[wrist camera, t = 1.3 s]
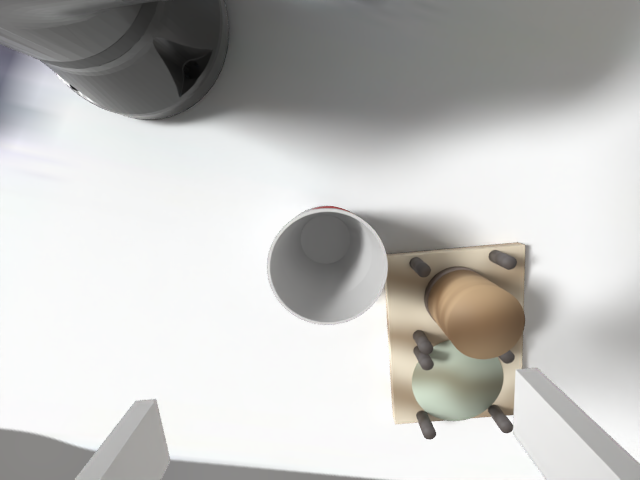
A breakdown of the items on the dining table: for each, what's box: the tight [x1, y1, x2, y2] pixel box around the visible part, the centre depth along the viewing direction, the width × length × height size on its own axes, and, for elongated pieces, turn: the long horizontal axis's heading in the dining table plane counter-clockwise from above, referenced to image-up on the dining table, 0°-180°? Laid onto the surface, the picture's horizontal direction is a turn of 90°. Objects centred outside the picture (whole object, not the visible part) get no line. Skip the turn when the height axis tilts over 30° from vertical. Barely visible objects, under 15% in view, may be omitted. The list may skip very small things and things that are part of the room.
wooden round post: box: [424, 266, 525, 359], centre depth 29 cm, size 6×6×6 cm
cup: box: [267, 206, 388, 325], centre depth 27 cm, size 8×8×10 cm
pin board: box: [385, 242, 525, 439], centre depth 32 cm, size 18×13×4 cm
